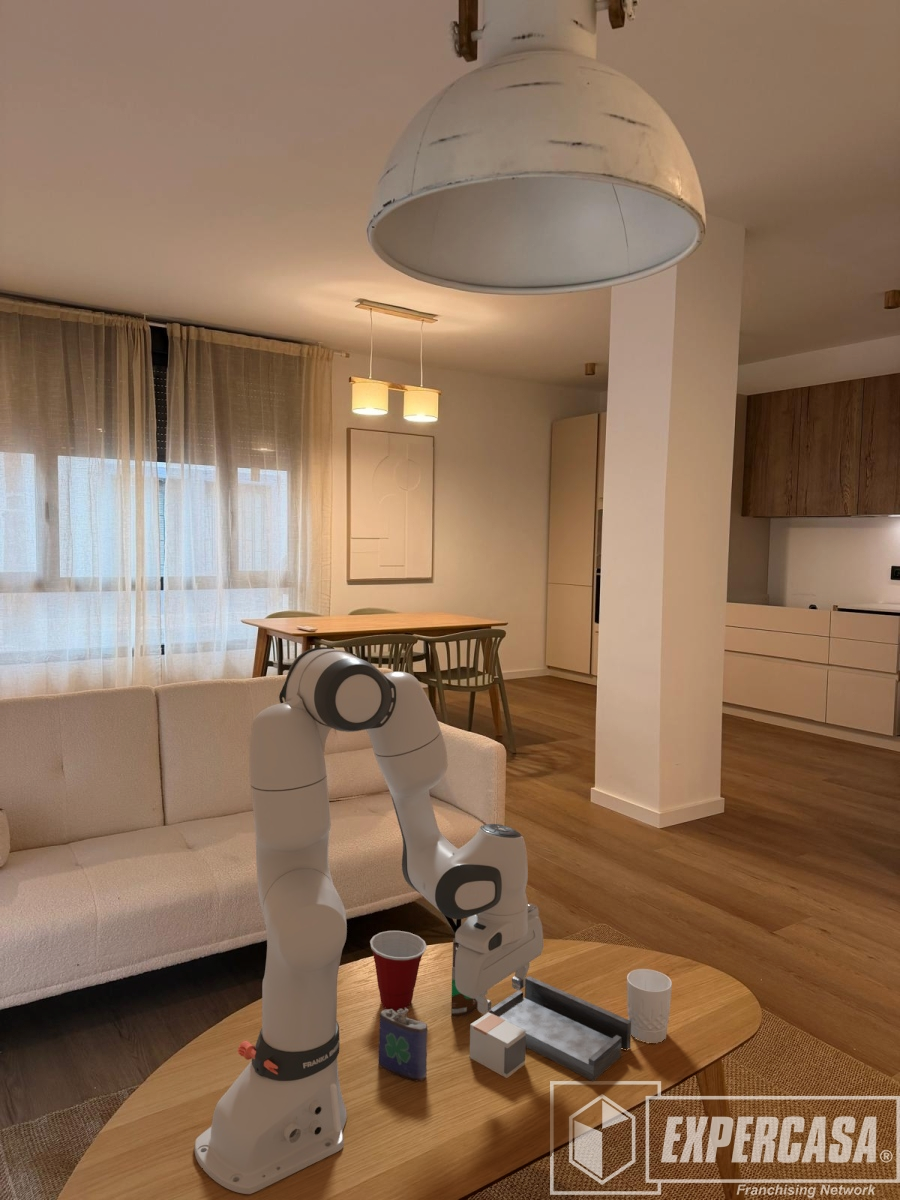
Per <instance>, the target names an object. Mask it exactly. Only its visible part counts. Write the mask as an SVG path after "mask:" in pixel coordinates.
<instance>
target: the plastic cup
mask: <svg viewBox="0 0 900 1200" xmlns="http://www.w3.org/2000/svg"><path fill="white" fill-rule="evenodd" d="M369 943H370V944H369V945H370V948H371V951H372V954H373V960H374V966H375V973H376V980H377V986H378V990H379V998H380V1002H381V1007H383V1008H384V1009H393V1010H394V1011H395V1012H397V1010H399V1009H403V1010H405V1008H407V1009H408V1008H409V1007H410V1006H411V1003H412V1001H413V997H414V992H415V987H416V983H417V977H418V973H419V967H420V963H421V962H422V961H421V960H422V957H423V955H425V952H426V950H427V943H426V941H425V940H424V939H423V938H422V937H420V936H419V935H417V934H413V932H412V933H411V932H409V931H403V930H402V931H401V930H387V931H386V930H385V931H382V932H378V933H377V934H375V935H373V936H372V938H371V939H370V940H369Z"/></svg>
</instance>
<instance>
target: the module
mask: <svg viewBox="0 0 900 1200" xmlns="http://www.w3.org/2000/svg"><path fill="white" fill-rule="evenodd" d="M469 1026H470V1027H469V1028H470V1029H469V1034H470V1035H469V1059H471V1060H473V1061H475V1062H477V1063H478V1064H480V1065H482V1066H484V1067H486V1068H488V1069H489V1070H492V1071H493V1072H495V1073H497V1074H498V1075H500V1076H502V1077H504V1078H505V1079H507V1078H509V1077H510V1076H512V1075H513V1074H515V1073H516V1072H517V1071H518V1070H519V1069H521V1068H522V1067H524V1065H526V1063H525V1062H526V1049H527V1047H526V1035H525V1034H526V1031H525V1030H523V1029H521V1028H519V1027H517V1026H515V1025H513V1024H511V1023H509V1022H507V1021H505V1020H504V1019H502V1018H500V1017H498V1016H496V1015H494V1014H491V1013H489V1012H488V1013H486V1014H483V1016H481V1017H480V1018H477V1020H475V1021H473V1022H472V1023H470V1025H469Z"/></svg>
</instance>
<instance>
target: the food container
mask: <svg viewBox="0 0 900 1200" xmlns="http://www.w3.org/2000/svg"><path fill="white" fill-rule="evenodd" d="M459 945H460V944H459V943H457V942H456V940H455V938H452V967H451V1001H450V1002H451V1004H450V1005H451V1008H450V1009H451V1010H450V1011H451V1012H450V1015H451V1018H459V1017H465V1016H468V1015H470V1014H472V1013H473V1012H474V1011H476V1009H478V1001H477V1000H476V999H475V998H474V999H472V998H470V997H467V996H465V995H463V994H461V993H460V992H459V991H458V990H457V988H456V985H455V957H456V952H457V949H458V947H459Z"/></svg>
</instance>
